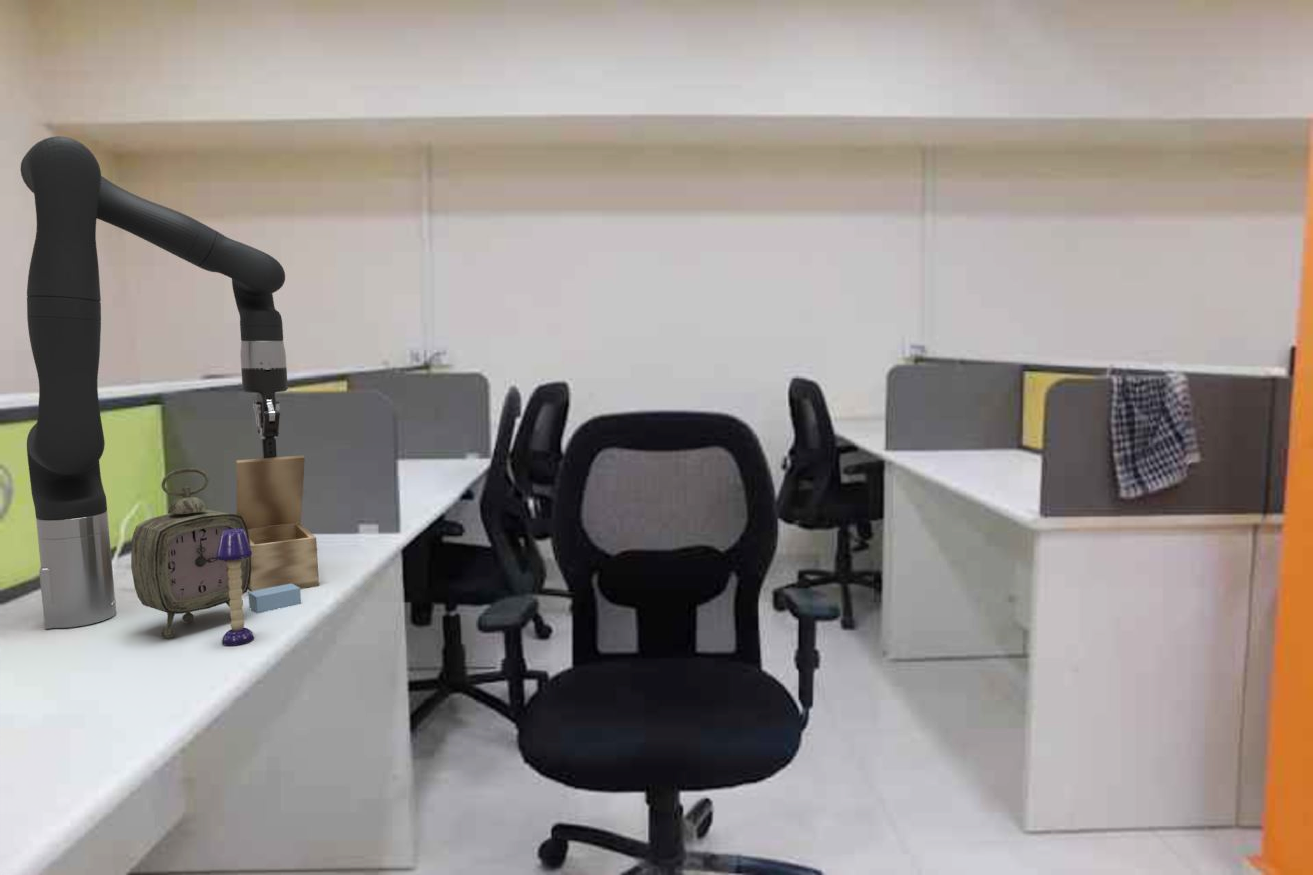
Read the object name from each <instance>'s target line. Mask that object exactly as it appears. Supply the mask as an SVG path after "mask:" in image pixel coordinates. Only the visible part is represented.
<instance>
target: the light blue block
mask: <svg viewBox="0 0 1313 875" xmlns="http://www.w3.org/2000/svg"><path fill="white" fill-rule="evenodd" d="M247 594H248V606H249V608H248V609H250V608H251V609H250V610H252V611H253V612H255V613H256V614H261V613H265V611H266V612H269V611H268V610H270V611H274V609H275V610H279V609H278V608H280V609H283V608H288V606H289V607H293V606H297V605H300V604H302V596H301V589H300V588H299V587H297V586H295V585H294V584H292V583H291V584H286V585H281V586H276V587H271V588H266V589H261V590H256V591H251V592H250V591H247Z"/></svg>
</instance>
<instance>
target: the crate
mask: <svg viewBox="0 0 1313 875" xmlns="http://www.w3.org/2000/svg"><path fill="white" fill-rule="evenodd" d="M247 530H248V533H249V540H250V547H251V551H252V555H251V578H250V584H249V587H248V592H251V591H256V590H261V589H266V588H271V587H276V586H281V585H286V584H291V583H292V584H294V585H295V586H297V587H299V588H300V590H301V589H302V590H303V589H307V588H308V589H309V588H314V587H319V586H320V581H319V580H320V579H319V565H318V564H319V563H318V559H319V558H318V548H317V546H318V544H317V543H318V542H317V537H316V536H315V535H314V534H313V533H311V531H310V530H308V529H307V528H306V526H304V525H303V524H302V522H298V523H294V524H286V525H278V526H269V527H261V528H252V529H247Z"/></svg>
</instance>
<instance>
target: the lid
mask: <svg viewBox="0 0 1313 875" xmlns="http://www.w3.org/2000/svg"><path fill="white" fill-rule="evenodd" d="M235 462H236V463H235V465H236V472H235V473H236V474H235V475H236V476H235V477H236V478H235V481H236V482H235V483H236V484H235V487H236V488H235V489H236V490H235V491H236V492H235V493H236V494H235V495H236V496H235V500H236V502H235V505H236V506H235V508H236V509H235V510H236V511H235V513H236V514H235V515H239V516H242V518H243V519H244V521H245V523H246V526H247V529H248V528H257V527H265V526H273V525H282V524H290V523H302V510H303V494H304V492H303V491H304V478H305V476H304V475H305V473H304V471H305V455H304V454H302V455H301V454H300V455H290V456H289V455H287V456H277V457H273V458H263V457H261V458H250V459H249V458H248V459H237V460H236V461H235Z"/></svg>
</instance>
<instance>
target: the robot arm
mask: <svg viewBox="0 0 1313 875" xmlns="http://www.w3.org/2000/svg"><path fill="white" fill-rule="evenodd" d="M99 164H100V163H99V162H98V160H97V158H96V156H95V154H93V153H92V151H91V150H90V149H89V148H88V147H87V146H85V144H84V143H81V142H80V141H78V140H76V139H74V138H72V137H68V136H62V135H61V136H59V135H58V136H50V137H47V138H43V139H42V140H40V141H38V142H36V143H35V144H34V145H32V147H31V148H30V149H29V150H28V151H27V152H26V154H25V155H24V156H23V158H22V160H21V162H20V176H21V178H22V180H23V183H24V184H25V186H26V187H27V189H29V190H30V192H32V193H33V194H34V196H33V197H34V204H35V214H36V233H35V238H34V244H33V248H32V253H31V258H30V263H29V268H28V274H27V275H28V276H27V285H26V286H27V287H26V288H27V290H26V308H27V309H26V317H27V318H26V319H27V327H28V336H29V342H30V347H31V353H32V358H33V360H34V364H35V369H36V372H37V378H38V385H39V386H38V388H39V389H38V408H37V409H38V411H37V417H36V418H37V419H36V423H35V424H34V425H32V427H31V429H30V430H29V431H28V434H27V439H26V454H27V455H26V456H27V463H28V472H29V481H30V490H31V496H32V500H33V506H34V511H35V522H36V523H35V524H36V531H37V532H36V533H37V542H38V553H39V561H40V562H39V564H40V567H39V570H38V571H39V572H38V573H39V583H40V591H41V602H42V612H43V613H42V614H43V622H44V623H43V624H44V629H45V630H49V629H61V628H62V629H65V628H74V627H75V628H76V627H82V626H83V627H84V626H88V625H92V624H95V623H99V622H102V621H105V620H108V619H111V618H112V617H114V616H115V615H116V614H117V609H116V608H117V607H116V605H117V604H116V602H117V601H116V596H115V585H114V572H113V561H112V560H113V559H112V549H111V540H110V529H109V528H110V526H109V525H110V524H109V516H108V504H107V503H108V502H107V495H106V493H105V490H104V486H103V481H102V476H101V467H100V466H101V465H100V459H101V457H102V456H103V453H104V451H105V445H106V444H105V441H106V440H105V435H104V430H103V423H102V417H101V409H100V401H99V391H98V390H99V389H98V387H99V386H98V379H99V378H98V376H99V367H100V366H99V365H100V354H101V353H100V352H101V337H102V336H101V331H102V302H101V301H102V298H101V284H100V271H99V258H98V250H97V237H96V235H97V232H96V230H97V220H99V221H101V222H105V223H107V224H110V225H112V226H114V227H117V228H119V229H121V230H124V231H125V232H128V233H130V234H132V235H134V236H136V237H139V238H140V239H142V240H144V241H147V242H148V243H149V244H152V245H154V246H156V247H158V248H160V249H163V250H164V251H166V252H168V253H170V254H172V255H173V256H175V257H177V258H180V259H182V260H184V261H185V262H187V263H190V264H192V265H194V266H196V267H198V268H199V269H202V270H205V271H208V272H212V273H218V274H221V275H223V276H226V277H229V278H231V287H232V291H233V295H234V299H235V303H236V308H237V311H238V315H239V328H240V332H239V333H240V341H241V342H240V356H239V357H240V368H241V384H242V385H241V386H242V391H243V392H244V393H251V394H252V393H253V394H254V393H256V401H253V402H252V403H253V404H252V405H253V411H254V414H255V424H256V427H257V433H258V436H259V439H260V440H261V452H262V454H261V455H262V458H273V457H278V455H277V454H278V453H277V439H278V437H279V434H280V432H279V430H280V429H279V427H280V416H281V412H280V411H281V407H280V406H281V404H280V402H279V401H277V400H276V393H281V392H286V391H287V390H288V387H289V385H288V371H287V353H286V348H285V344H284V330H283V327H284V326H283V317H282V315H281V313H280V312H279V311H278V310H277V309H276V308H275V307H276V306H275V302H274V293H276V292H277V291H279V290H280V289H281V288H283V286H284V285H285V281H286V273H285V269H284V268H283V265H282V264H281V263H280V262H279V260H277V259H276V258H275V257H274V256H271V255H270V254H269V253H266V252H265V251H262V250H260V249H258V248H255V247H253V246H251V245H248V244H246V243H243V242H240V241H237V240H234V239H232V238H230V237H227V236H226V235H224V234H223V233H221V232H219V231H217V230H216V229H214V228H211V227H210V226H208V225H207V224H205V223H202V222H200V221H199V220H197V219H195V218H194V217H191V216H189V215H186V214H185V213H182V212H179V211H178V210H175V209H173V208H169V207H167V206H164V205H161V204H158V203H156V202H153V201H150V200H148V199H146V198H143V197H140V196H138V195H137V194H136V195H135V194H134V193H132V192H129V191H128V190H125V189H124V188H123V187H120V186H118V185H116V184H115V183H113V182H111V181H110V180H109V179H107V178H105V177H104V176H102V171H101V168H100V165H99Z"/></svg>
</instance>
